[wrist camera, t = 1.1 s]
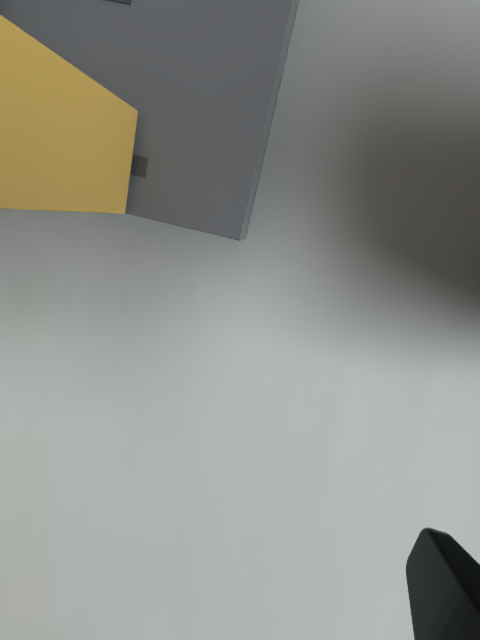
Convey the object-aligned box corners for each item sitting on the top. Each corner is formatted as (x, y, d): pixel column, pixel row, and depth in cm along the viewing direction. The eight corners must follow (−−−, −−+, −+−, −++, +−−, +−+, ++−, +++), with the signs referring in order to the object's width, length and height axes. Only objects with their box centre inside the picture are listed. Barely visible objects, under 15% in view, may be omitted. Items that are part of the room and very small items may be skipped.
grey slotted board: (311, -56, 14) (313, -101, 12) (245, 238, 18) (239, 240, 16) (-59, -120, 16) (-112, -171, 14) (-57, 165, 19) (-99, 159, 17)
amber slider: (138, 111, 15) (-35, -10, 7) (124, 213, 16) (-37, 206, 8) (67, 95, 15) (-175, -38, 7) (59, 197, 16) (-157, 176, 8)
